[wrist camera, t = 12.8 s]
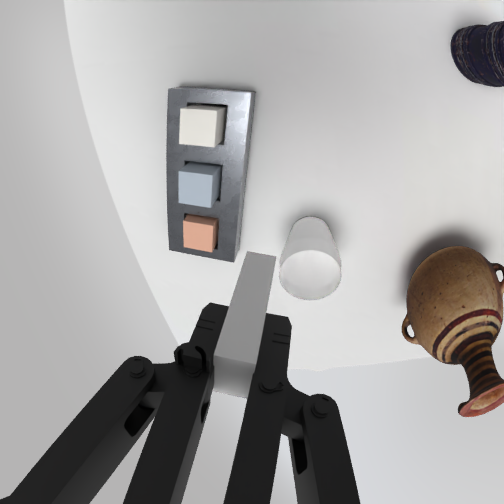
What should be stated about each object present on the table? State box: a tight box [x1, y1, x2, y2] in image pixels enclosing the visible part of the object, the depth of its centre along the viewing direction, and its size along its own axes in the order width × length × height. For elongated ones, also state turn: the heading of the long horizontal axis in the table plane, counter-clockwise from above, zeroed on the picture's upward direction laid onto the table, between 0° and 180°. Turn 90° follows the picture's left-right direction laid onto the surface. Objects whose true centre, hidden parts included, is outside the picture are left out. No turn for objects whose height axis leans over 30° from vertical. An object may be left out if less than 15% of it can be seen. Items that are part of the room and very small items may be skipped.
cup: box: [279, 217, 341, 300], centre depth 45 cm, size 9×9×12 cm
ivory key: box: [179, 105, 227, 147], centre depth 38 cm, size 5×5×5 cm
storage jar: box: [451, 21, 504, 87], centre depth 21 cm, size 10×10×15 cm
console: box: [167, 87, 256, 262], centre depth 46 cm, size 28×12×4 cm, turn 174°
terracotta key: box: [183, 214, 219, 252], centre depth 50 cm, size 5×5×5 cm
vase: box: [402, 246, 504, 417], centre depth 37 cm, size 21×18×30 cm
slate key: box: [179, 161, 222, 208], centre depth 43 cm, size 5×5×5 cm
